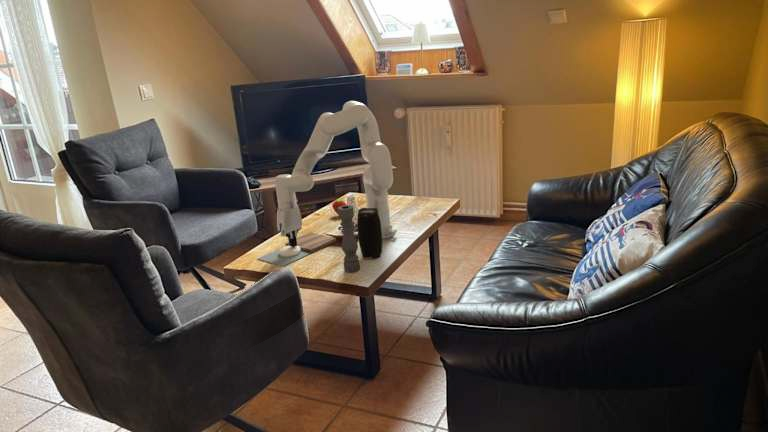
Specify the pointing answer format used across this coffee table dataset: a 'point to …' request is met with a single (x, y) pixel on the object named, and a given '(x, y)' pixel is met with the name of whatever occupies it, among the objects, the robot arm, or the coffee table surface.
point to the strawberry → (338, 204)
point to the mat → (281, 258)
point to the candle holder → (349, 239)
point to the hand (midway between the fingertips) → (293, 245)
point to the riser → (313, 242)
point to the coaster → (289, 251)
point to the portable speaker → (369, 233)
